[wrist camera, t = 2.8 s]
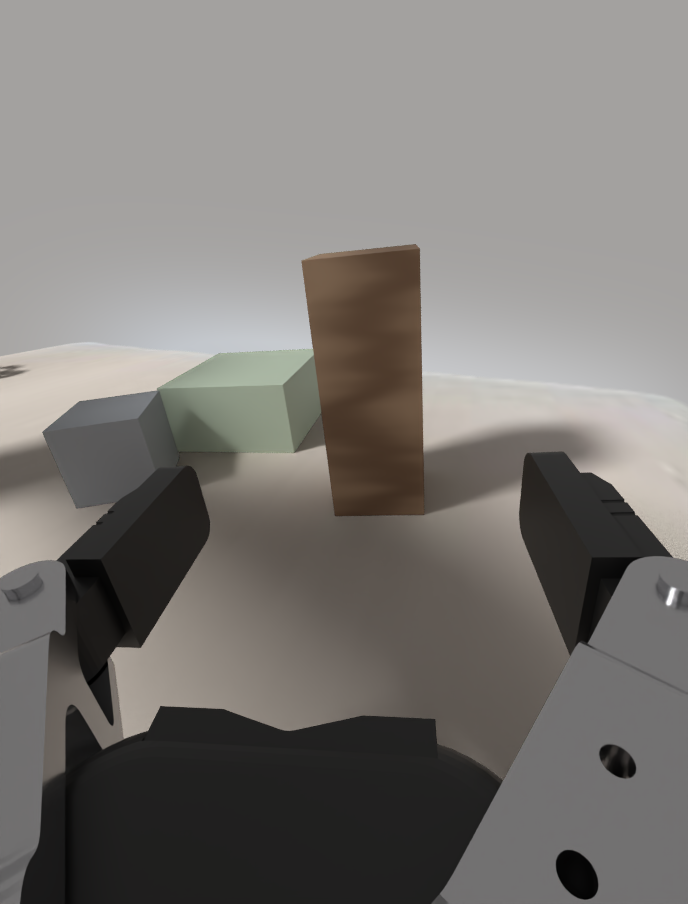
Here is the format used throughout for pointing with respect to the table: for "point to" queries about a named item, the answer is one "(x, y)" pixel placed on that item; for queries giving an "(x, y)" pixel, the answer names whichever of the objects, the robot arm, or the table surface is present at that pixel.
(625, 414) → the table surface
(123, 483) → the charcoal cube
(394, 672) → the table surface
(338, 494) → the walnut post
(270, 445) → the sage block
